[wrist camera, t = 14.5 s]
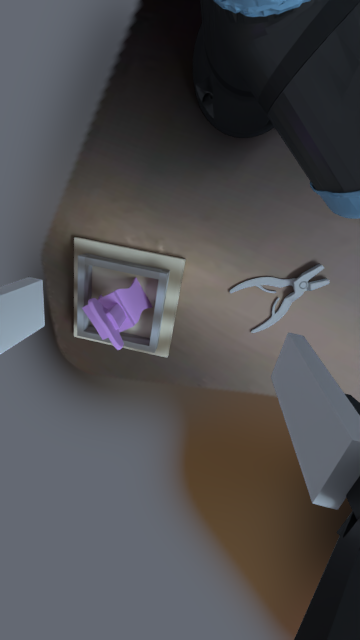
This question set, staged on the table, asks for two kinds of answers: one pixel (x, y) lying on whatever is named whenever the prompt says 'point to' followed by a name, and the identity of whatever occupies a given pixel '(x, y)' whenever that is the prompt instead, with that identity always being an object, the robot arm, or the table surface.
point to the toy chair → (117, 312)
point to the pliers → (298, 285)
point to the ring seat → (118, 273)
